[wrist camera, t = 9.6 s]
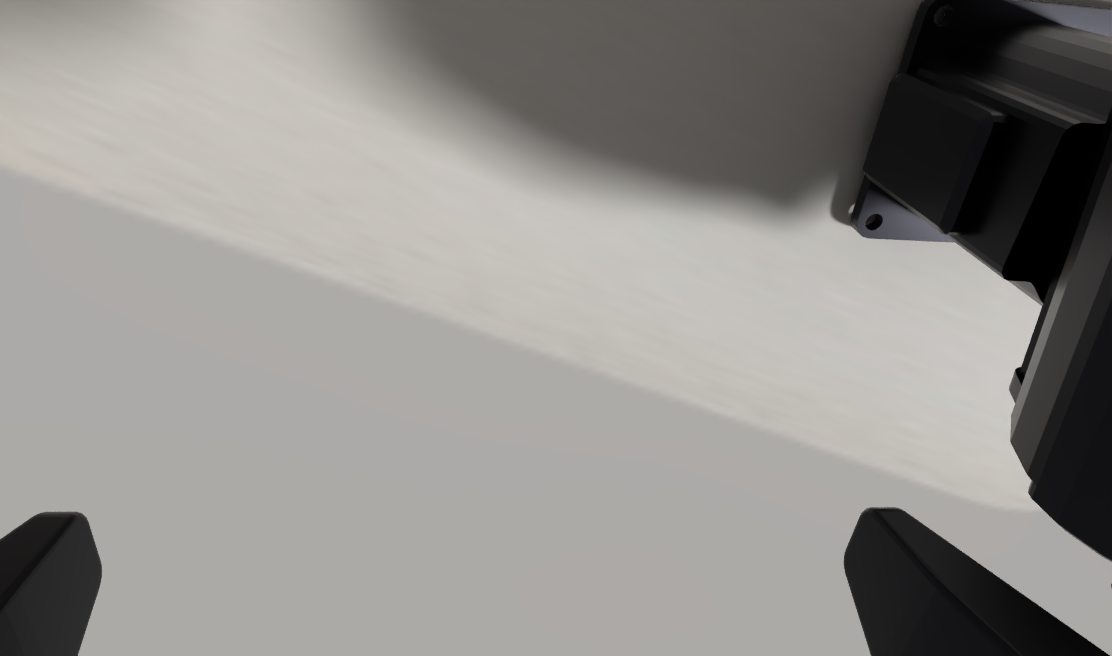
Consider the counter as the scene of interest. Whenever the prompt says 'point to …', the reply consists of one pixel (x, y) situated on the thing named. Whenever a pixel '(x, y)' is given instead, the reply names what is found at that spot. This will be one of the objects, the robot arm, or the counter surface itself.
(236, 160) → the counter surface
